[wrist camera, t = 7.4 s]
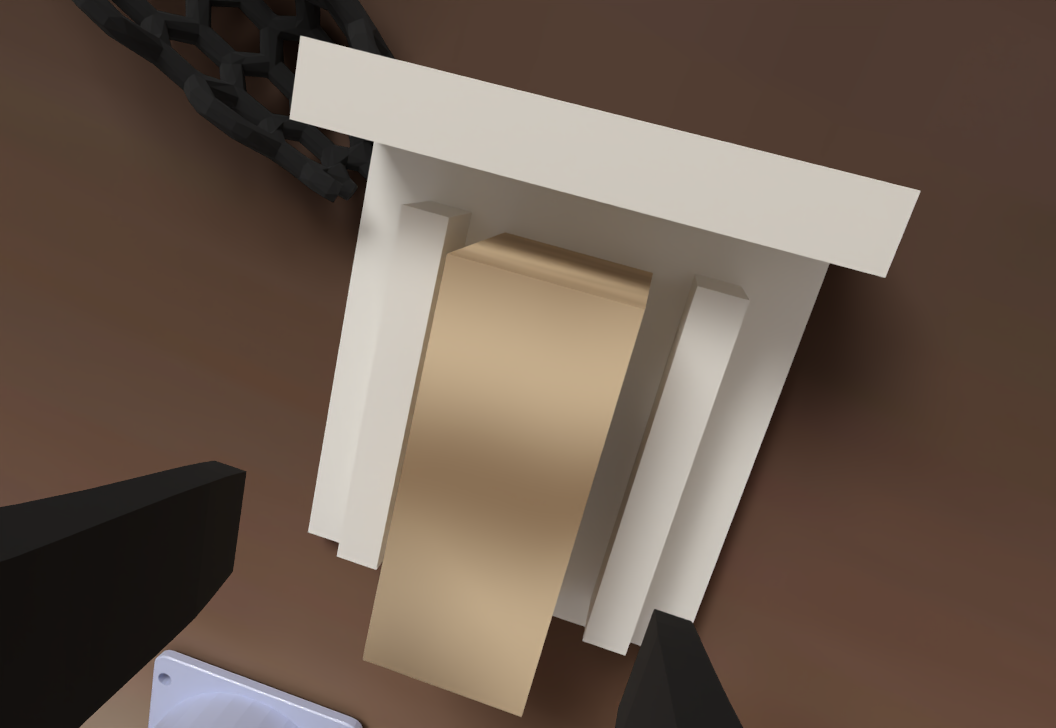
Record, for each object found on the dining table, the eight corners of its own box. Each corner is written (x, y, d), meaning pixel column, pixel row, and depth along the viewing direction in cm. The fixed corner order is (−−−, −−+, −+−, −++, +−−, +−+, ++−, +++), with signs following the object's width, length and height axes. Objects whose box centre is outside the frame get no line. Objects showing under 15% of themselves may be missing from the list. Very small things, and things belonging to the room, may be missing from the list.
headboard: (679, 642, 22) (680, 781, 17) (319, 520, 23) (224, 614, 18) (851, 184, 17) (920, 190, 12) (398, 70, 19) (300, 35, 14)
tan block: (556, 594, 21) (521, 717, 16) (430, 552, 22) (362, 659, 17) (652, 273, 18) (645, 309, 13) (504, 232, 19) (446, 253, 14)
